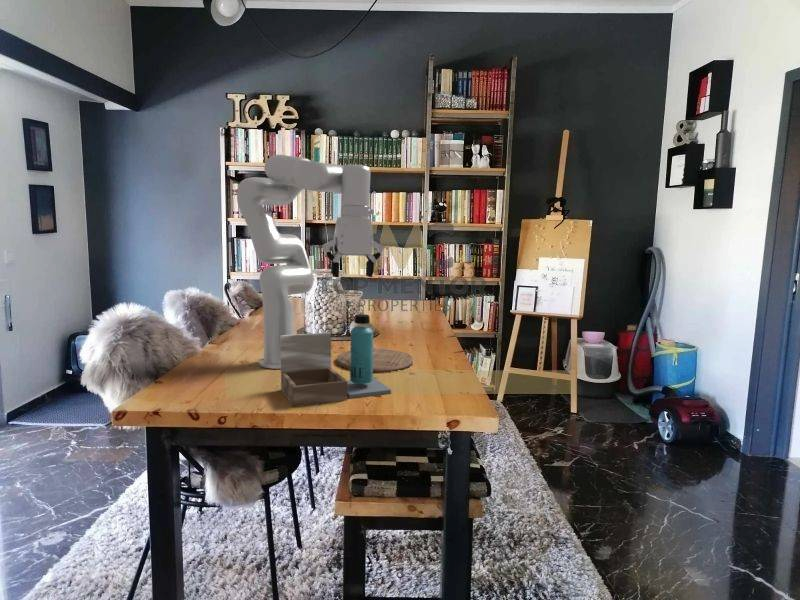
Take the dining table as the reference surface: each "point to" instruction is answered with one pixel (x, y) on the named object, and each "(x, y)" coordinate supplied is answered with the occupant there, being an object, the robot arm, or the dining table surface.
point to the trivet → (381, 360)
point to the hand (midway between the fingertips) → (352, 276)
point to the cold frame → (310, 370)
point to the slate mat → (366, 389)
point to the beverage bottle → (361, 351)
